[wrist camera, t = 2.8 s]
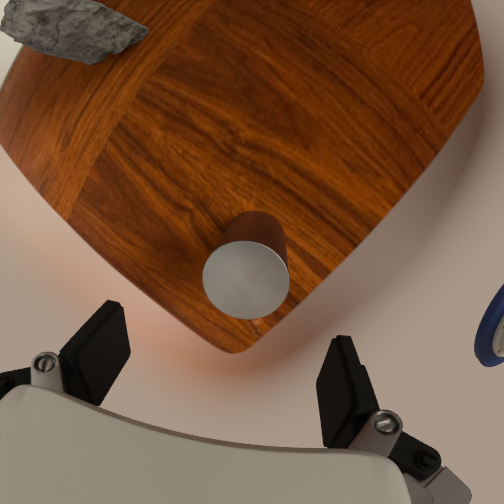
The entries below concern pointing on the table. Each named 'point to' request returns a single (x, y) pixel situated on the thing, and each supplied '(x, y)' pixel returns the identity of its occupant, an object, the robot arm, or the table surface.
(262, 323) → the table surface
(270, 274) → the silver metal cylinder
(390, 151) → the table surface
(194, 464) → the robot arm
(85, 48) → the decorative rock
